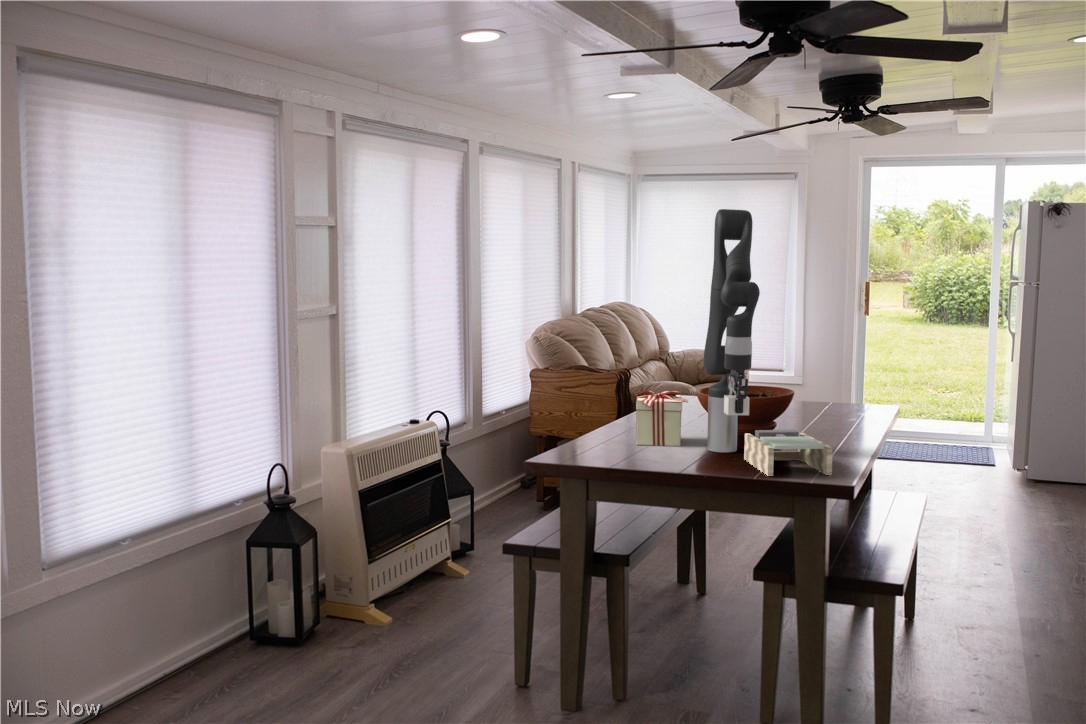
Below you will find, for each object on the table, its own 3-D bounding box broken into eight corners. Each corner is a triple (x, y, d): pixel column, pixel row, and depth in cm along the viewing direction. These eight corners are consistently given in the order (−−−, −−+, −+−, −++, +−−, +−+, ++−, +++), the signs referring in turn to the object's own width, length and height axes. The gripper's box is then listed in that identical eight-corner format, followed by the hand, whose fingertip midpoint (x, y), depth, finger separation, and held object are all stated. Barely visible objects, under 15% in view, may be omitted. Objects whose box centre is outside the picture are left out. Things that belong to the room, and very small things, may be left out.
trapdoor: (751, 443, 284) (751, 430, 284) (797, 443, 285) (797, 429, 284) (774, 458, 262) (774, 443, 261) (823, 457, 263) (824, 443, 262)
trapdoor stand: (744, 459, 285) (744, 433, 284) (802, 459, 286) (803, 432, 285) (767, 476, 261) (768, 448, 260) (831, 476, 262) (832, 447, 261)
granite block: (723, 412, 273) (724, 395, 272) (744, 412, 273) (744, 395, 272) (728, 415, 268) (728, 397, 267) (749, 415, 268) (749, 397, 267)
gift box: (636, 447, 304) (637, 394, 302) (632, 437, 322) (633, 387, 320) (689, 448, 303) (690, 394, 301) (683, 438, 321) (684, 387, 320)
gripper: (758, 355, 261) (756, 415, 263) (744, 349, 276) (742, 407, 278) (731, 355, 261) (729, 415, 263) (719, 349, 275) (717, 407, 277)
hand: (736, 411), depth 270 cm, fingers closed on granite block, 5 cm apart
